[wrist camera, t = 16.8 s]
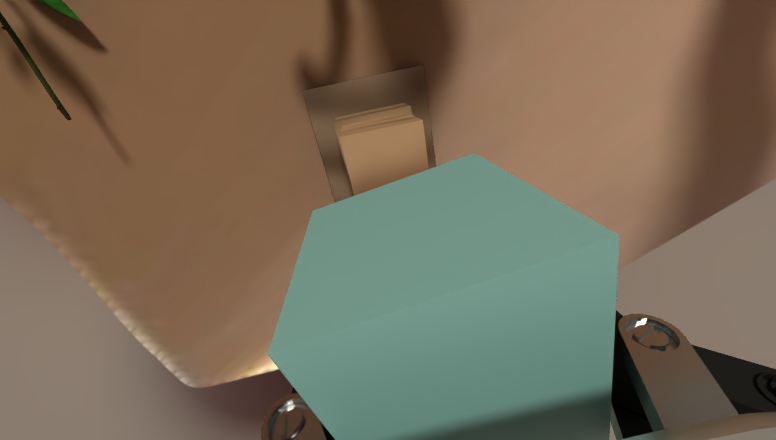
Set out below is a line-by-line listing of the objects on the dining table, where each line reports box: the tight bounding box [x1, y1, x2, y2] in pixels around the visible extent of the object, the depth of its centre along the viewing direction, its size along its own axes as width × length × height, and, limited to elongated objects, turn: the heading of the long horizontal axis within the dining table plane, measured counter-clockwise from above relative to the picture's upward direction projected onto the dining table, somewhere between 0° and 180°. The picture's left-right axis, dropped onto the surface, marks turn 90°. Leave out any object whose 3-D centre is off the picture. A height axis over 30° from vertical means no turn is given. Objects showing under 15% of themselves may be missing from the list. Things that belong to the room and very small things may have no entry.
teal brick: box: [268, 153, 620, 440], centre depth 9 cm, size 9×6×6 cm, turn 19°
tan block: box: [339, 113, 429, 196], centre depth 25 cm, size 9×6×6 cm, turn 10°
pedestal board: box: [302, 65, 436, 202], centre depth 30 cm, size 16×12×5 cm
